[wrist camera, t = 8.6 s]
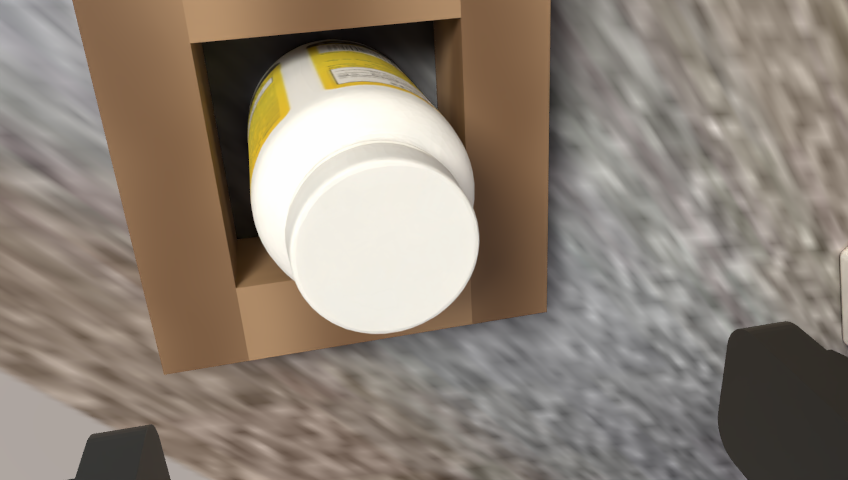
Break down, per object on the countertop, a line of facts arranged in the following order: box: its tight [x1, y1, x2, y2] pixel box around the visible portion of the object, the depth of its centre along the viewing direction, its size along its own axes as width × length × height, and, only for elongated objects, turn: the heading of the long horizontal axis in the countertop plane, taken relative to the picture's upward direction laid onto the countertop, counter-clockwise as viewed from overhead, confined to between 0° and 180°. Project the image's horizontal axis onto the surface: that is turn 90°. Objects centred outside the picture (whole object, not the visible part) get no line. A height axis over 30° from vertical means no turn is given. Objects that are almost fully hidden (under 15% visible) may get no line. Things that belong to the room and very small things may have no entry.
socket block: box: [72, 0, 551, 375], centre depth 23 cm, size 12×12×4 cm
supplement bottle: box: [247, 39, 479, 334], centre depth 20 cm, size 5×5×10 cm
